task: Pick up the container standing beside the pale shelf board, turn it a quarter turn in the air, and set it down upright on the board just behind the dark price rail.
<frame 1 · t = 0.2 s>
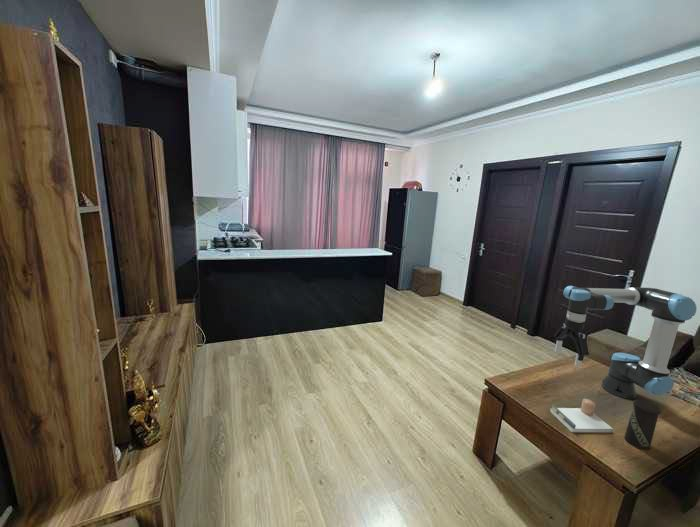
hand: (567, 358, 146), 28 cm above the table, fingers open, 13 cm apart
container: (636, 443, 129), on the table
peach rounded cylinder: (586, 412, 145), point 2 cm above the table, touching shelf
shelf: (579, 421, 141), on the table
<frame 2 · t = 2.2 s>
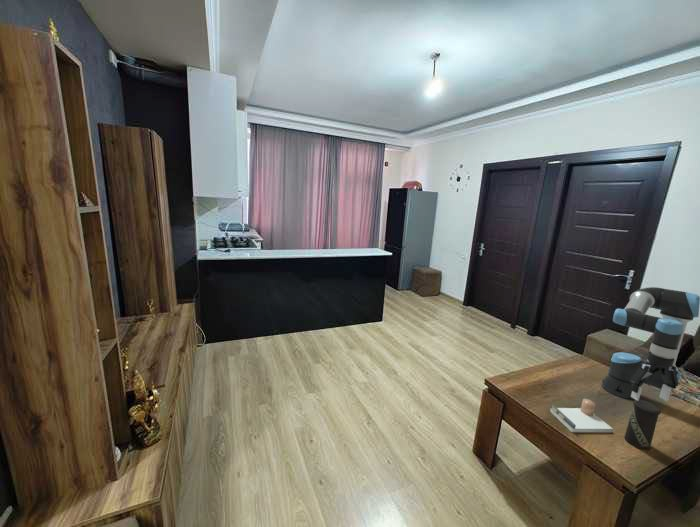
hand: (649, 399, 124), 23 cm above the table, fingers open, 13 cm apart
nothing on the table moved.
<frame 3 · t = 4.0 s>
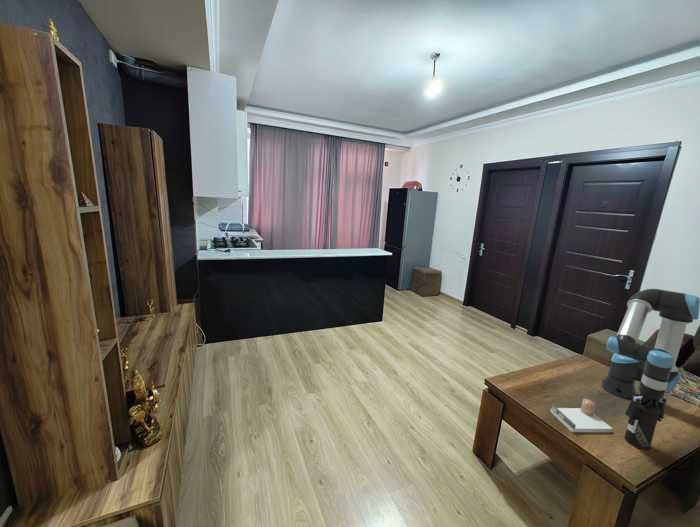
hand: (640, 430, 128), 6 cm above the table, fingers closed on container, 8 cm apart
container: (636, 443, 129), on the table, touching gripper
everything else where it was.
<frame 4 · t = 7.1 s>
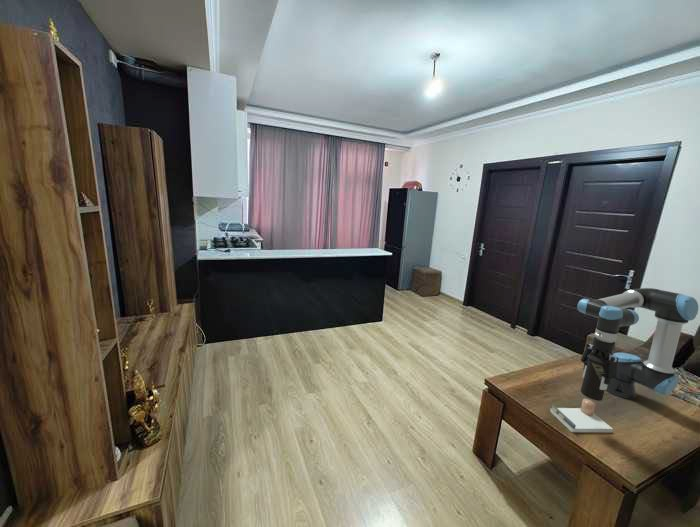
hand: (594, 383, 134), 23 cm above the table, fingers closed on container, 8 cm apart
container: (591, 395, 136), point 16 cm above the table, touching gripper
everything else where it was.
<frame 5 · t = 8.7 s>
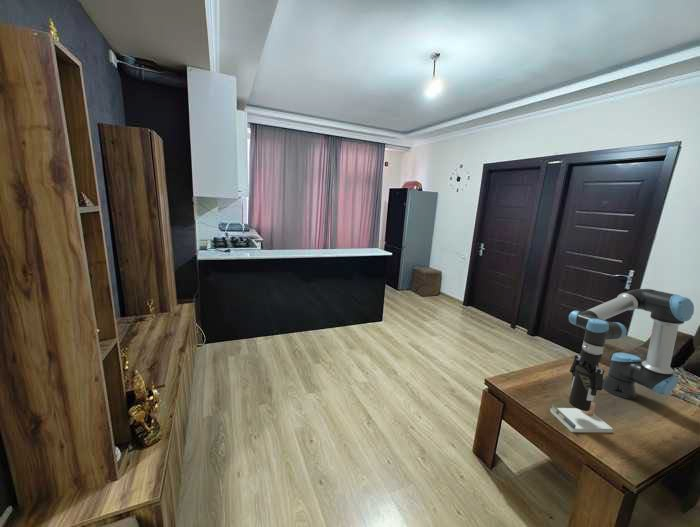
hand: (581, 394, 138), 15 cm above the table, fingers closed on container, 8 cm apart
container: (578, 405, 139), point 9 cm above the table, touching gripper
everything else where it was.
when the fingers open (10 cm above the table, at t = 10.2 s): container drops 1 cm, resting on shelf.
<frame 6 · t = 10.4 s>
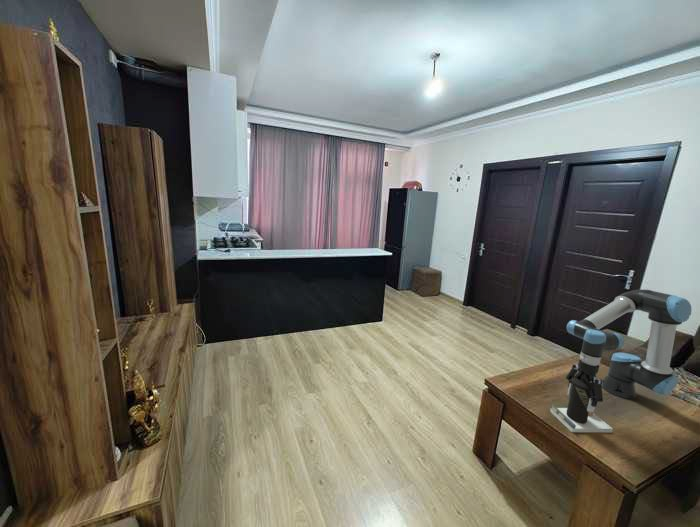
hand: (579, 402, 139), 10 cm above the table, fingers open, 11 cm apart
container: (576, 417, 140), point 2 cm above the table, touching shelf
everything else where it was.
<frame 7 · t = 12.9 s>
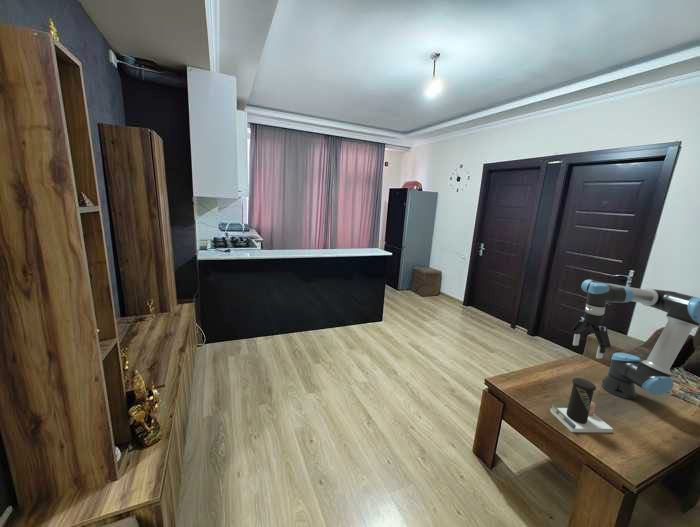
hand: (586, 351, 147), 31 cm above the table, fingers open, 13 cm apart
nothing on the table moved.
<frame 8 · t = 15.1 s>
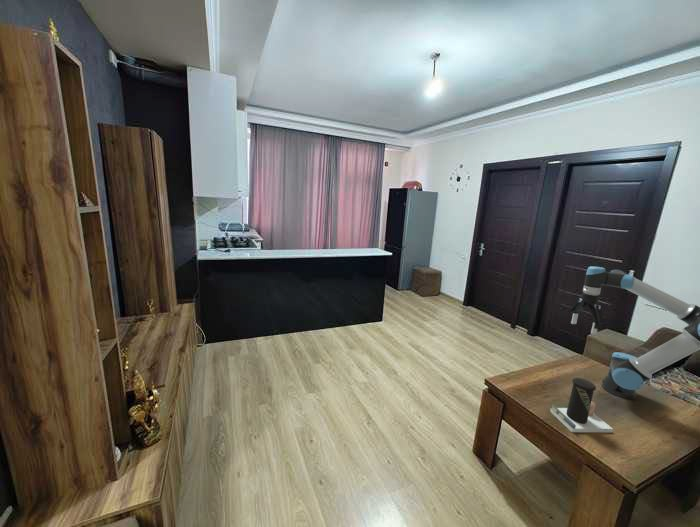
hand: (583, 328, 164), 37 cm above the table, fingers open, 13 cm apart
nothing on the table moved.
at the end: container inside the target area on the shelf (0.4 cm from its centre), point 1.8 cm above the shelf's base; container tilted 0°; the gripper is holding nothing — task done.
